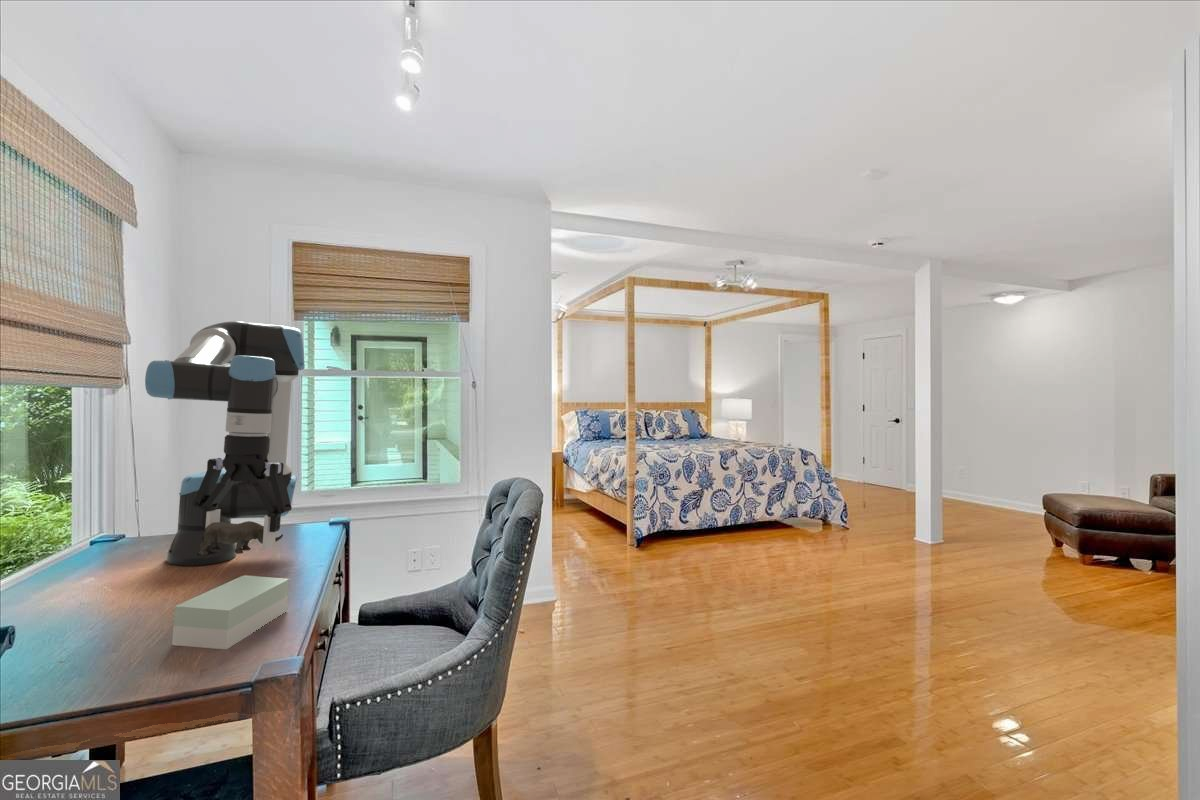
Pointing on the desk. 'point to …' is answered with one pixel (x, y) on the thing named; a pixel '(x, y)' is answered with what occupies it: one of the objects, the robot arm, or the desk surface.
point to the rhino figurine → (232, 535)
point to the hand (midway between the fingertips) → (239, 545)
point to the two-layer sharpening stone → (229, 612)
